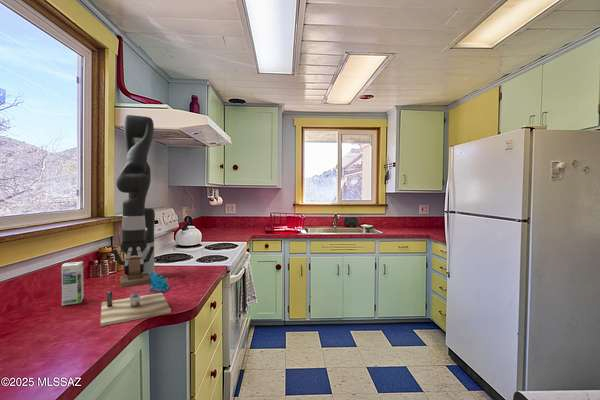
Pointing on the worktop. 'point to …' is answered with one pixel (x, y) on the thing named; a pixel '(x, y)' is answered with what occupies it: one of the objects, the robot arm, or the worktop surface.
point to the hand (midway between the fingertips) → (134, 274)
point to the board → (133, 309)
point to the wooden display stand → (134, 274)
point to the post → (134, 300)
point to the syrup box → (72, 283)
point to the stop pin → (109, 299)
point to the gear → (158, 282)
